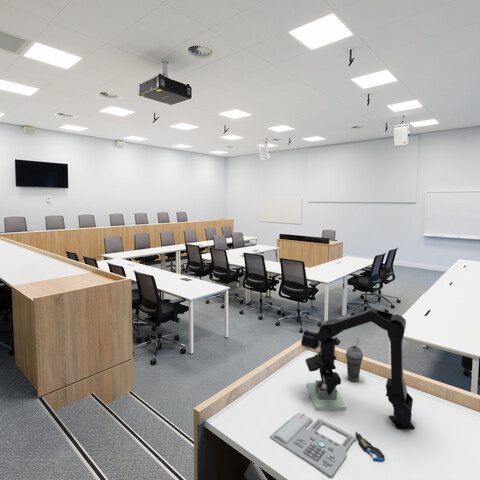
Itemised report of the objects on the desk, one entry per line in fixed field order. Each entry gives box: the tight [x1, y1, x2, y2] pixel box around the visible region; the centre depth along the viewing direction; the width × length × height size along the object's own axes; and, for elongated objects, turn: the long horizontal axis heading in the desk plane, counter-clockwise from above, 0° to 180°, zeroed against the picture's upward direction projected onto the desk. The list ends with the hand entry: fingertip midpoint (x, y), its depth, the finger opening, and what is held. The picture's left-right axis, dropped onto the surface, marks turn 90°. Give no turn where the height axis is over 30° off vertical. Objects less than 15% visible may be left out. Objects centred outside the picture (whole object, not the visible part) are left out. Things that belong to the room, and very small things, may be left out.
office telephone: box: [269, 412, 357, 479], centre depth 109 cm, size 23×3×20 cm
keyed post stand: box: [306, 382, 347, 411], centre depth 131 cm, size 16×12×5 cm
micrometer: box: [354, 431, 386, 462], centre depth 106 cm, size 12×2×5 cm
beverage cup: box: [345, 338, 364, 383], centre depth 143 cm, size 7×7×20 cm
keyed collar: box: [314, 380, 338, 400], centre depth 131 cm, size 7×7×4 cm
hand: (325, 387), depth 131 cm, fingers open, 9 cm apart
